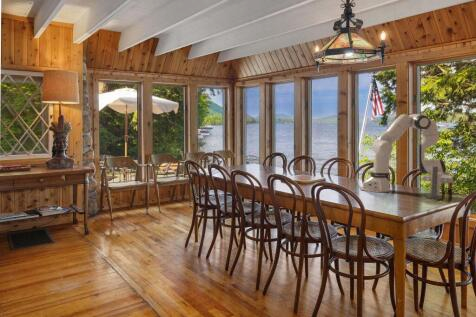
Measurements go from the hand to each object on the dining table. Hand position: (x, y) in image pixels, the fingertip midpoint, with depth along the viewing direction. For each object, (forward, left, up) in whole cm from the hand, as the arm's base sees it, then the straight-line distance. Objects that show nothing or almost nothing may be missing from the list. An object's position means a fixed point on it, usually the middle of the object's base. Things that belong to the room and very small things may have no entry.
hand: (436, 180), depth 278 cm
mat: (-6, -7, -10) cm, 14 cm away
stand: (0, -17, -10) cm, 20 cm away
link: (0, -13, -7) cm, 15 cm away
